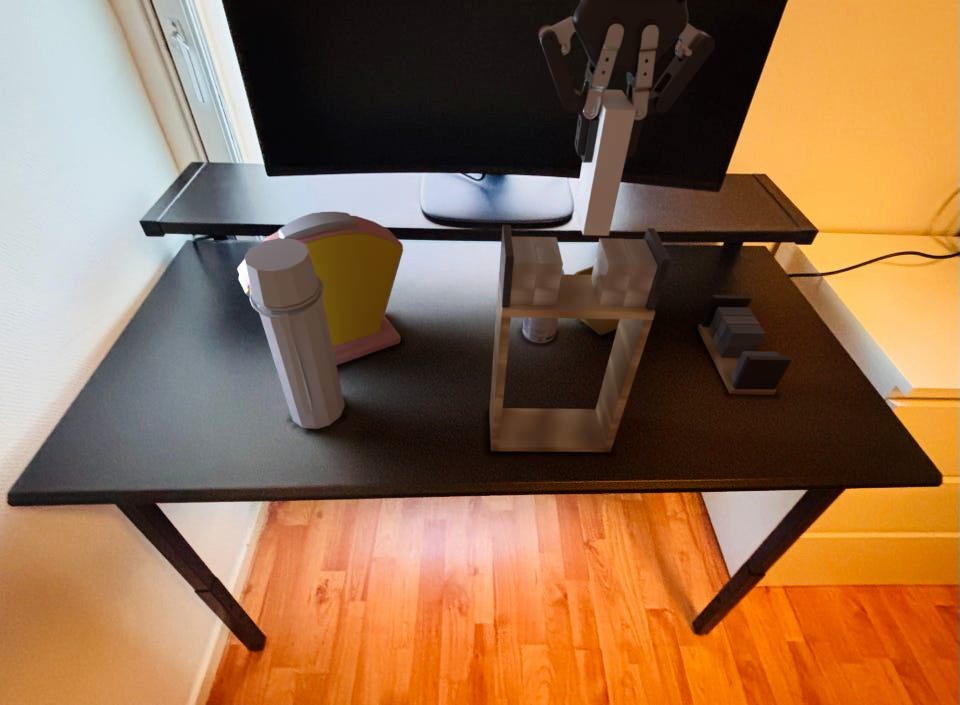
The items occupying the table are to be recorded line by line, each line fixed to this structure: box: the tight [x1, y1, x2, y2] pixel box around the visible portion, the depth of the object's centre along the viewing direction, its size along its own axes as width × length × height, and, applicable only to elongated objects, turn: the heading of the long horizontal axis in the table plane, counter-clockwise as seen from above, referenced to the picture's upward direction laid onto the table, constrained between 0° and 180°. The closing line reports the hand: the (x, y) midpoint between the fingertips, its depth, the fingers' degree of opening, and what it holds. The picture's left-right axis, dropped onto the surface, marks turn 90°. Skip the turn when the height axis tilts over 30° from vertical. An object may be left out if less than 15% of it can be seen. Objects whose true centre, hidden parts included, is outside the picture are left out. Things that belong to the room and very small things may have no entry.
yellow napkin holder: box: [237, 211, 404, 366], centre depth 76 cm, size 22×9×22 cm, turn 122°
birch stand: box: [489, 280, 654, 453], centre depth 64 cm, size 16×7×22 cm, turn 91°
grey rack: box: [697, 294, 793, 396], centre depth 81 cm, size 15×7×7 cm, turn 1°
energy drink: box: [522, 268, 565, 344], centre depth 83 cm, size 5×5×12 cm
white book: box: [574, 89, 636, 237], centre depth 47 cm, size 2×5×11 cm, turn 1°
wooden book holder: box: [498, 224, 671, 320], centre depth 54 cm, size 16×7×7 cm, turn 91°
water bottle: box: [243, 238, 345, 430], centre depth 64 cm, size 9×8×25 cm
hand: (602, 159), depth 47 cm, fingers closed on white book, 2 cm apart
